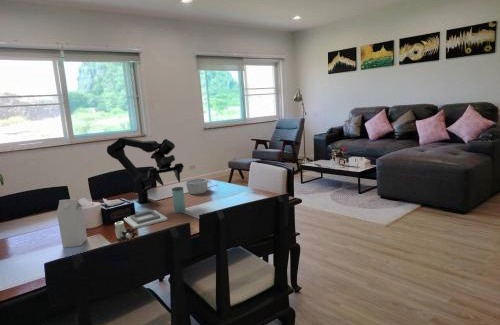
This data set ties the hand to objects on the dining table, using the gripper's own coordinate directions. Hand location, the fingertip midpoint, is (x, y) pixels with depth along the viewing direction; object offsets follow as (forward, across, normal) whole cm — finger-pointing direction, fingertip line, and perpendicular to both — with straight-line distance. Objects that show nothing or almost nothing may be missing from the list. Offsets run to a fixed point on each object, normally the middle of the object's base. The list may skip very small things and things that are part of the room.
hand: (171, 183), depth 182 cm
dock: (+15, -18, +4) cm, 24 cm away
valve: (+27, -33, -8) cm, 44 cm away
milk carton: (+20, -50, 0) cm, 54 cm away
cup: (+15, 0, +4) cm, 15 cm away
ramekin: (-4, +24, +24) cm, 34 cm away
